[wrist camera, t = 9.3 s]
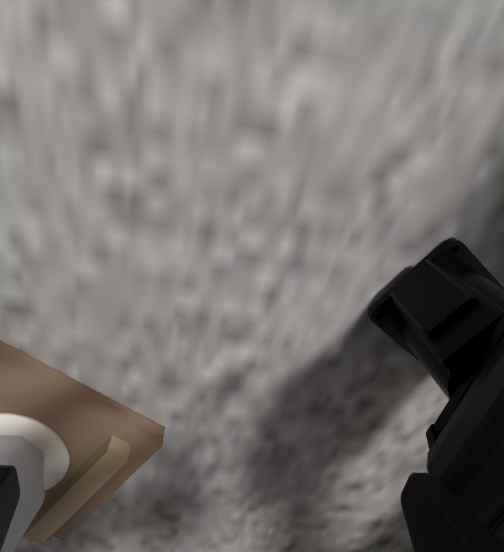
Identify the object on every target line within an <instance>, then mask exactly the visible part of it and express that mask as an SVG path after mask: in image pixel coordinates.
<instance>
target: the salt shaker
mask: <svg viewBox="0 0 504 552" xmlns="http://www.w3.org/2000/svg"><path fill="white" fill-rule="evenodd" d="M0 465H14V466H15V467H16V469H17V474H18V480H19V485H20V498H19V502H18V505H17V508H16V510H15V513H14V516H13V519H12V521H11V524H10V527H9V530H8V533H7V535H6V538H5V541H4V544H3V547H2V549H1V552H13V550H14V549H15V547H16V546H17V544H18V542H19V541H20V539H21V538H22V536H23V534H24V533H25V531H26V530H27V528H28V527H29V525H30V523H31V522H32V520H33V519H34V517H35V516H36V514H37V512H38V511H39V509H40V508H41V506H42V505H43V501H44V497H45V490H44V480H43V473H44V453H43V452H42V451H40V450H39V449H38V448H37V447H35V446H34V445H33V444H31V443H30V442H29V441H27V440H26V439H25V438H24V437H22V436H9V435H0Z"/></svg>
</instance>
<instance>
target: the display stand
mask: <svg viewBox="0 0 504 552" xmlns="http://www.w3.org/2000/svg"><path fill="white" fill-rule="evenodd" d="M164 430H165V427H163V426H161V425H159V424H157V423H156V422H154V421H152V420H150V419H148V418H146V417H144V416H142V415H140V414H138V413H137V412H135V411H133V410H131V409H129V408H127V407H125V406H123V405H121V404H119V403H118V402H116V401H114V400H112V399H110V398H108V397H106V396H104V395H102V394H100V393H99V392H97V391H95V390H93V389H91V388H89V387H87V386H85V385H83V384H82V383H80V382H78V381H76V380H74V379H72V378H70V377H68V376H66V375H64V374H63V373H61V372H59V371H57V370H55V369H53V368H51V367H49V366H47V365H45V364H44V363H42V362H40V361H38V360H36V359H34V358H32V357H30V356H28V355H26V354H25V353H23V352H21V351H19V350H17V349H15V348H13V347H11V346H9V345H7V344H6V343H4V342H2V341H0V435H9V436H22V437H24V438H25V439H26V440H27V441H29V442H30V443H31V444H33V445H34V446H35V447H37V448H38V449H39V450H40V451H42V452H43V453H44V473H43V480H44V490H45V497H44V501H43V505H42V506H41V508H40V509H39V511H38V512H37V514H36V516H35V517H34V519H33V520H32V522H31V523H30V525H29V527H28V528H27V530H26V532H25V534H24V537H26V538H29V539H32V540H34V541H37V542H40V543H44V542H45V541H46V540H47V539H48V538H49V537H50V536H51V535H52V536H54V537H57V538H60V539H63V540H64V539H65V538H66V537H67V536H68V535H69V534H70V533H71V532H72V531H73V530H74V529H75V528H77V527H78V526H79V525H80V524H81V523H82V522H83V521H84V520H85V519H86V518H87V517H88V516H89V515H90V514H91V513H92V512H93V511H94V510H95V509H96V508H98V507H99V506H100V505H101V504H102V503H103V502H104V501H105V500H106V499H107V498H108V497H109V496H110V495H111V494H112V493H113V492H114V491H115V490H116V489H117V488H119V487H120V486H121V485H122V484H123V483H124V482H125V481H126V480H127V479H128V478H129V477H130V476H131V475H132V474H133V473H134V472H135V471H136V470H137V469H138V468H140V467H141V466H142V465H143V464H144V463H145V462H146V461H147V460H148V459H149V458H150V457H151V456H152V455H153V454H154V453H155V452H156V451H157V450H158V449H159V448H161V447H162V443H163V437H164Z"/></svg>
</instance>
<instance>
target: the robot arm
mask: <svg viewBox="0 0 504 552" xmlns="http://www.w3.org/2000/svg"><path fill="white" fill-rule="evenodd" d="M453 245H455V247H454V249H453V250H450V248H451V247H452V246H453ZM378 312H380V314H379V315H377V316H374V315H375V314H376V313H378ZM368 316H369V318H370V319H371V321H372V322H373V323H375V324H376V325H377V326H378V327H379V328H381V329H382V330H383V331H384V332H385V333H386V334H388V335H389V336H390V337H391V338H392V339H394V340H395V341H396V342H397V343H398V344H400V345H401V346H402V347H403V348H404V349H406V350H407V351H408V352H409V353H410V354H411V355H413V356H414V357H415V358H416V359H417V360H419V361H420V362H421V363H422V365H423V366H424V367H425V369H426V370H427V371H428V373H429V374H430V375H431V376H432V378H433V379H434V380H435V382H436V383H437V384H438V386H439V387H440V388H441V390H442V391H443V392H444V394H445V395H446V396H447V398H448V399H449V401H448V403H447V405H446V406H445V408H444V409H443V411H442V412H441V414H440V416H439V417H438V419H437V420H436V422H435V423H434V424H431V425H430V427H429V429H428V430H427V432H426V437H427V441H428V445H429V452H428V459H427V469H428V473H429V474H428V473H412V474H410V476H409V478H408V480H407V482H406V484H405V486H404V489H403V491H402V493H401V505H402V509H403V513H404V516H405V520H406V524H407V527H408V531H409V535H410V538H411V542H412V546H413V549H414V552H504V288H503V287H502V286H501V285H500V284H499V282H498V281H497V280H496V279H495V278H494V277H493V276H492V275H491V274H490V273H489V271H488V270H487V269H486V268H485V267H484V266H483V265H482V264H481V263H480V262H479V260H478V259H477V258H476V257H475V256H474V255H473V254H472V253H471V252H470V251H469V249H468V248H467V247H466V246H465V245H464V244H463V243H462V242H461V241H459V240H457V239H456V238H450V239H448V240H446V241H445V242H444V243H443V244H442V245H440V246H439V247H438V248H437V249H436V250H435V251H434V252H433V253H431V254H430V255H429V256H428V257H427V258H426V259H425V260H424V261H422V262H421V263H420V264H419V265H418V266H416V267H415V268H414V269H413V270H412V271H411V272H410V273H409V274H408V275H406V276H405V277H404V278H403V279H402V280H401V281H400V282H399V283H397V284H396V285H395V286H394V287H393V288H392V289H391V290H390V291H389V292H388V293H387V294H386V295H384V296H383V297H382V298H381V299H380V300H379V301H378V302H377V303H375V304H374V305H373V306H372V307H371V308H370V309H369V311H368ZM19 498H20V485H19V480H18V474H17V469H16V467H15V466H14V465H0V552H1V549H2V547H3V544H4V541H5V538H6V535H7V533H8V530H9V527H10V524H11V521H12V519H13V516H14V513H15V510H16V508H17V505H18V502H19Z"/></svg>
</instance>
